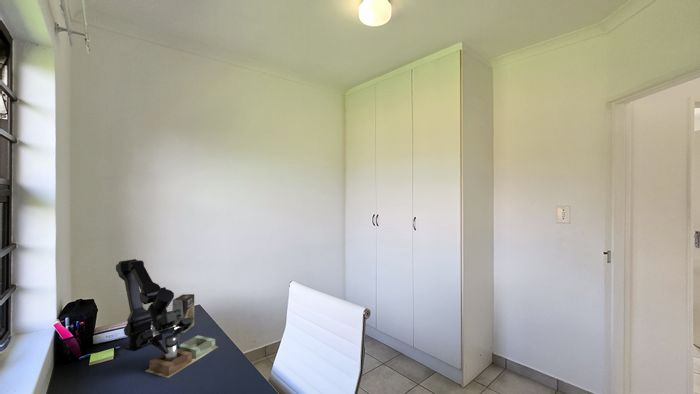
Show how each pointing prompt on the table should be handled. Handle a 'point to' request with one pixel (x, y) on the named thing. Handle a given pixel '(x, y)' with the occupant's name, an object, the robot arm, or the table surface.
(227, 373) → the table surface
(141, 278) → the robot arm
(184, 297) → the coffee box
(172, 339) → the shiny grey rounded piece
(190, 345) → the wooden desk organizer
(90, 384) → the table surface
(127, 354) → the table surface
